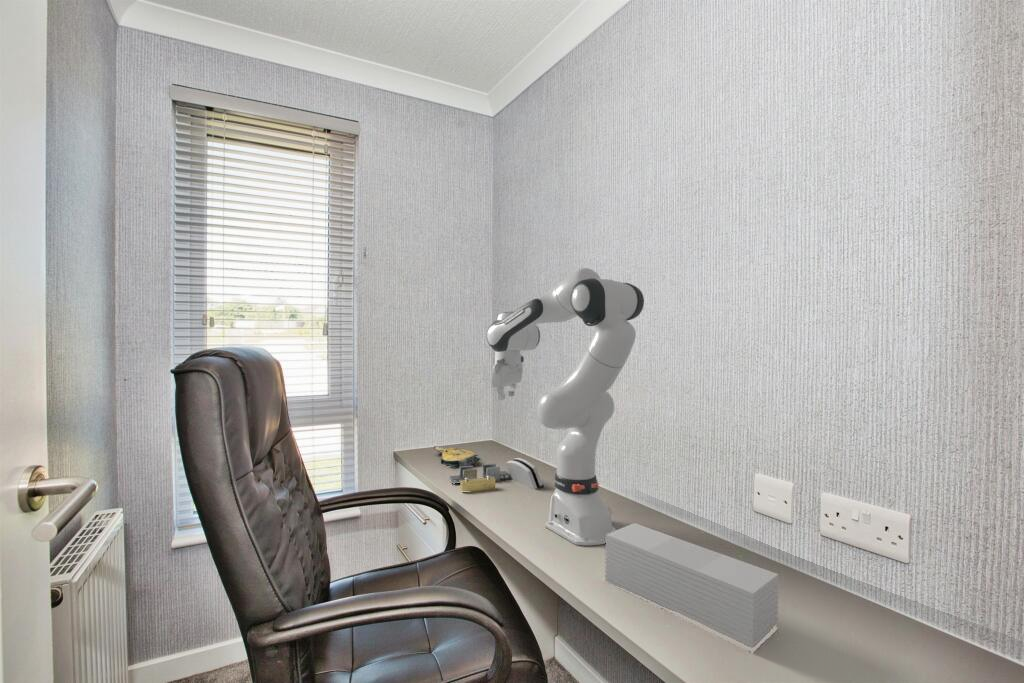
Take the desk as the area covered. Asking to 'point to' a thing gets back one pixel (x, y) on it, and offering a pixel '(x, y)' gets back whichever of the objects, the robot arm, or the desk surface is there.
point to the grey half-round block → (524, 473)
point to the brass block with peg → (477, 484)
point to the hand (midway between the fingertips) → (506, 397)
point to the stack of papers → (694, 582)
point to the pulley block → (456, 457)
